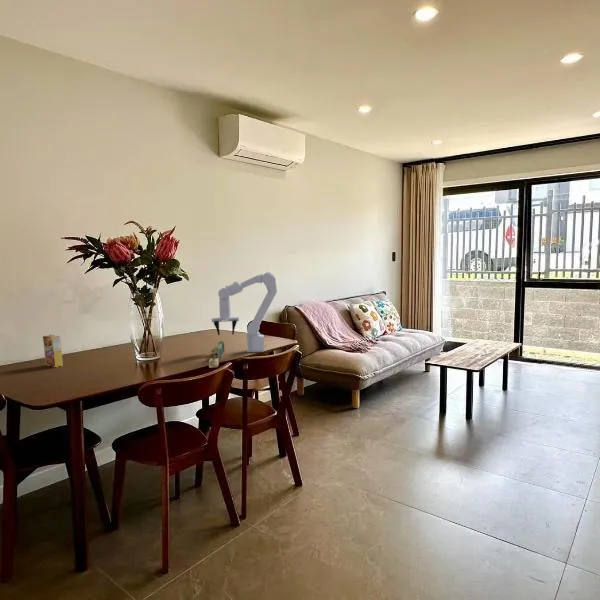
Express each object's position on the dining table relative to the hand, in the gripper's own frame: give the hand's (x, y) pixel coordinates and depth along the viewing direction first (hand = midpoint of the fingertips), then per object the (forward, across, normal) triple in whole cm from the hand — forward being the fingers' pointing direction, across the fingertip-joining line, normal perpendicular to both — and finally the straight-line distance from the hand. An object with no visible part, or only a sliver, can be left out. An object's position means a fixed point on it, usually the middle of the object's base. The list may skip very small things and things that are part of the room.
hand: (225, 334), depth 249 cm
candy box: (+10, -84, -16) cm, 86 cm away
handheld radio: (+10, -3, -13) cm, 17 cm away
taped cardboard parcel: (+9, -4, -13) cm, 17 cm away
